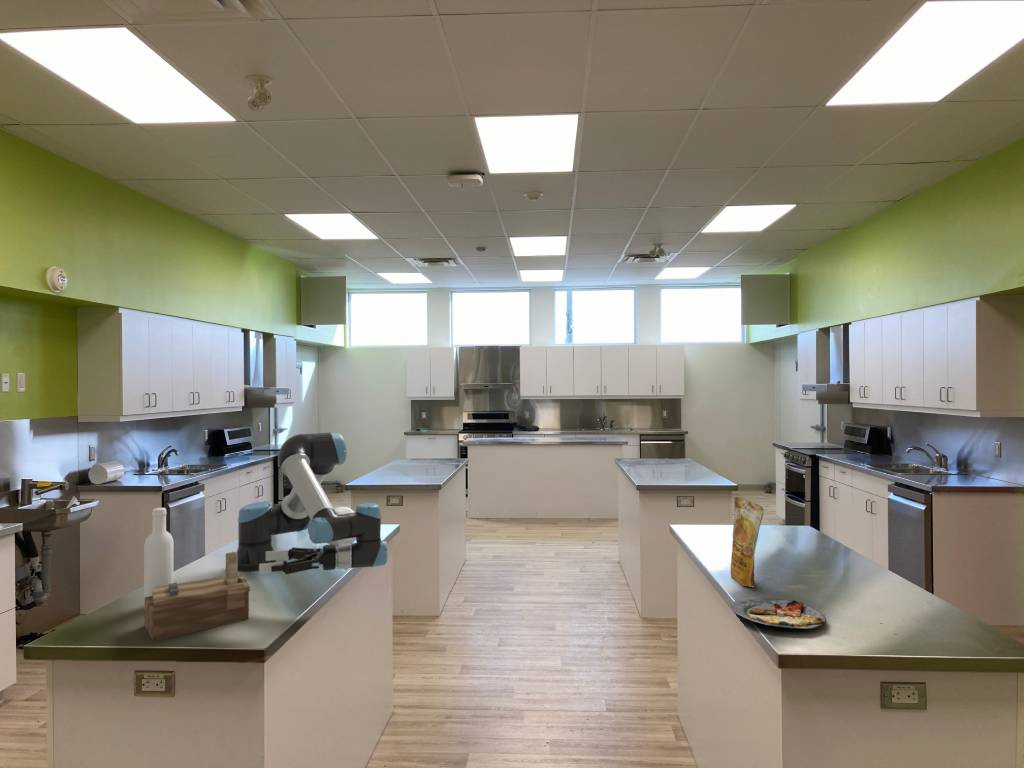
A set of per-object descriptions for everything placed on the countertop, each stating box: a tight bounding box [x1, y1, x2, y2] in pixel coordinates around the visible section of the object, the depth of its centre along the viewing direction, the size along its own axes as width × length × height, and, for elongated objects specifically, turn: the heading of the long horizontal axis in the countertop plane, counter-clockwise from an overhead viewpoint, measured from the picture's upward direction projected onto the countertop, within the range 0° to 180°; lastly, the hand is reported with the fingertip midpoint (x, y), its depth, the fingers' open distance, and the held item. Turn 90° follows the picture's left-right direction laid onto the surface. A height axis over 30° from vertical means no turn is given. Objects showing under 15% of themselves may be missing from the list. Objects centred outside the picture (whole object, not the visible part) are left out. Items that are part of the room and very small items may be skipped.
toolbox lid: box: [152, 573, 251, 607], centre depth 172 cm, size 14×24×3 cm, turn 123°
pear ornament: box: [327, 506, 356, 546], centre depth 254 cm, size 16×22×28 cm
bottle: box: [143, 507, 175, 610], centre depth 182 cm, size 8×8×30 cm
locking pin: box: [225, 551, 239, 585], centre depth 176 cm, size 3×3×14 cm
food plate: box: [731, 596, 827, 630], centre depth 172 cm, size 25×23×4 cm
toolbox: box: [143, 591, 250, 642], centre depth 169 cm, size 14×24×8 cm, turn 130°
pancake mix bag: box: [730, 496, 764, 588], centre depth 206 cm, size 7×19×28 cm, turn 0°
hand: (262, 562), depth 177 cm, fingers open, 13 cm apart
